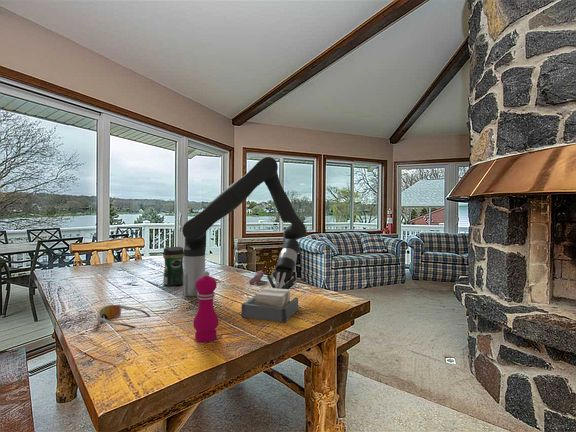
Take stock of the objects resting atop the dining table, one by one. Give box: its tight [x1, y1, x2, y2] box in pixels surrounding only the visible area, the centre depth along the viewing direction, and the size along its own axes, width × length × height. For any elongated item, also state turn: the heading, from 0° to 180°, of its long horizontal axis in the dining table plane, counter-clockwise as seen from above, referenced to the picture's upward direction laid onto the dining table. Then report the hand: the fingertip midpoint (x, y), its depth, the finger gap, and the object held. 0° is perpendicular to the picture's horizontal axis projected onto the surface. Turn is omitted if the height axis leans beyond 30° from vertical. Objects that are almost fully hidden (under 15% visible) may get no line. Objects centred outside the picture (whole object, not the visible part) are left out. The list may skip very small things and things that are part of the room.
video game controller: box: [248, 270, 265, 285], centre depth 167 cm, size 10×5×7 cm, turn 170°
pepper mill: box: [193, 270, 219, 343], centre depth 96 cm, size 7×7×20 cm
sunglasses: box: [96, 303, 152, 329], centre depth 109 cm, size 14×15×5 cm
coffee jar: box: [162, 246, 184, 287], centre depth 160 cm, size 10×8×19 cm
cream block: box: [254, 286, 291, 308], centre depth 119 cm, size 10×10×8 cm
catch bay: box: [240, 295, 299, 323], centre depth 119 cm, size 15×16×4 cm
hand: (276, 298), depth 125 cm, fingers closed
